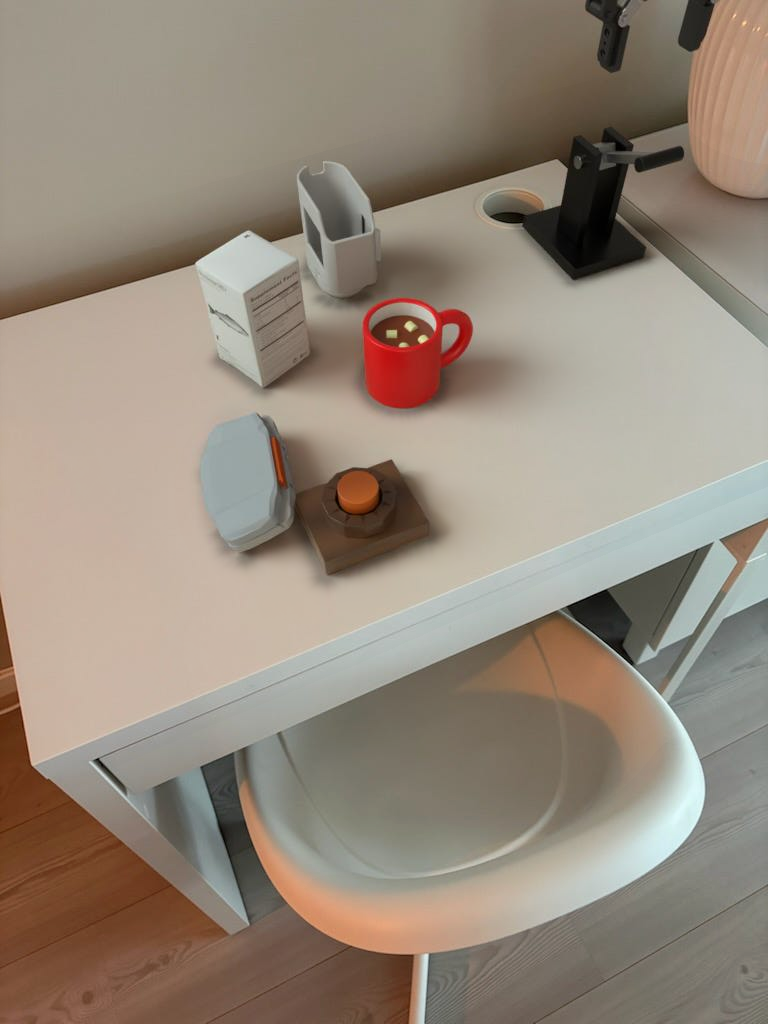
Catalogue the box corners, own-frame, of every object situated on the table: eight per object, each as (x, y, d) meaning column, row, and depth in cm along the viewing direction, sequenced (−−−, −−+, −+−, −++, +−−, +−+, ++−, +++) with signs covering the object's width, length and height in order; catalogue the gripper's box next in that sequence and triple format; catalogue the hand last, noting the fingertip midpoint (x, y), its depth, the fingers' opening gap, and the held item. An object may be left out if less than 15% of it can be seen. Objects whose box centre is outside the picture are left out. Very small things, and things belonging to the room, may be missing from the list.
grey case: (222, 562, 67) (304, 532, 66) (206, 547, 65) (290, 515, 64) (208, 444, 76) (280, 415, 75) (193, 426, 73) (268, 396, 72)
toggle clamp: (643, 257, 91) (674, 155, 81) (572, 280, 89) (595, 178, 78) (589, 206, 97) (611, 106, 87) (521, 226, 95) (536, 125, 85)
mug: (486, 378, 80) (494, 320, 73) (386, 418, 77) (385, 361, 70) (449, 334, 84) (453, 275, 77) (353, 370, 81) (348, 312, 74)
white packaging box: (218, 359, 82) (191, 260, 72) (268, 325, 85) (249, 226, 75) (262, 391, 79) (241, 293, 69) (313, 354, 82) (300, 256, 72)
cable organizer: (333, 318, 86) (324, 225, 76) (299, 257, 93) (286, 164, 83) (387, 303, 87) (385, 209, 77) (349, 244, 94) (343, 151, 84)
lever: (684, 166, 76) (684, 140, 75) (643, 178, 75) (642, 152, 74) (611, 161, 87) (610, 139, 85) (574, 172, 85) (573, 149, 84)
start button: (385, 506, 66) (385, 494, 64) (348, 520, 65) (346, 509, 64) (369, 477, 68) (368, 465, 66) (332, 490, 67) (331, 478, 65)
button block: (428, 535, 68) (429, 509, 65) (326, 575, 66) (322, 551, 63) (392, 473, 72) (391, 446, 69) (295, 508, 70) (289, 482, 67)
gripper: (660, -157, 50) (607, 95, 63) (824, -189, 53) (741, 57, 66) (594, -183, 54) (557, 59, 67) (750, -211, 57) (686, 25, 70)
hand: (649, 58), depth 67 cm, fingers open, 8 cm apart
